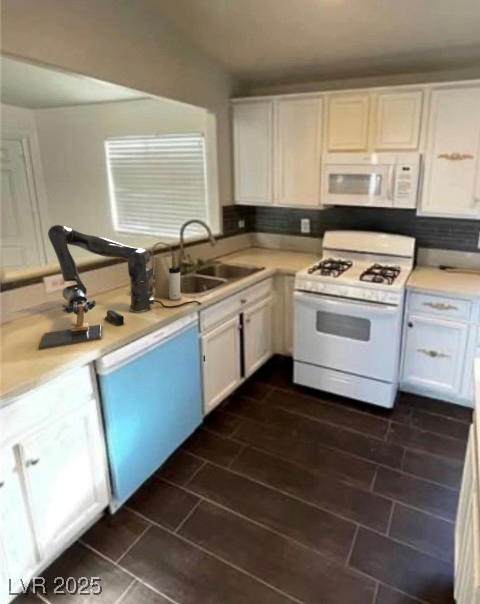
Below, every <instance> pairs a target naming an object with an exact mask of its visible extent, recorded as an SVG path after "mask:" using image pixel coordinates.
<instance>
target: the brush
mask: <svg viewBox="0 0 480 604" xmlns="http://www.w3.org/2000/svg"><path fill="white" fill-rule="evenodd" d="M77 309H78V315H76V323H72V324H71V325H70V326H71V327H70V329H71V331H72V332H71V335H78V334H87V330H88V326H89V323H88V322H84V320H85V319H84V318H85V313H84V304H79V305H77Z"/></svg>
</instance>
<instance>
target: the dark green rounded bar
mask: <svg viewBox="0 0 480 604" xmlns="http://www.w3.org/2000/svg"><path fill="white" fill-rule="evenodd" d="M104 318H105V319H107V320H109V322H112V323H114V324H115V325H117V326H123V325H125V318H124V315H122V314H120V313H119V312H117V311H116V310H114V309H108V310H107V311H106V316H104Z"/></svg>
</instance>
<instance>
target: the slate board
mask: <svg viewBox="0 0 480 604" xmlns="http://www.w3.org/2000/svg"><path fill="white" fill-rule="evenodd" d="M101 331H102V326H101V324H95V325H94V324H93V325H88V330H87V334H78V335H71V332H72V331H71V328H69V329H62V330H55V331H54V330H53V331H49V332H44V334H43V336H42V338H41V343H40V345H39V349H40V350H44V349H50V348H56V347H63V346H67V345H74V344H79V343H85V342H92V341H97V340H101V334H102V333H101Z"/></svg>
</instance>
